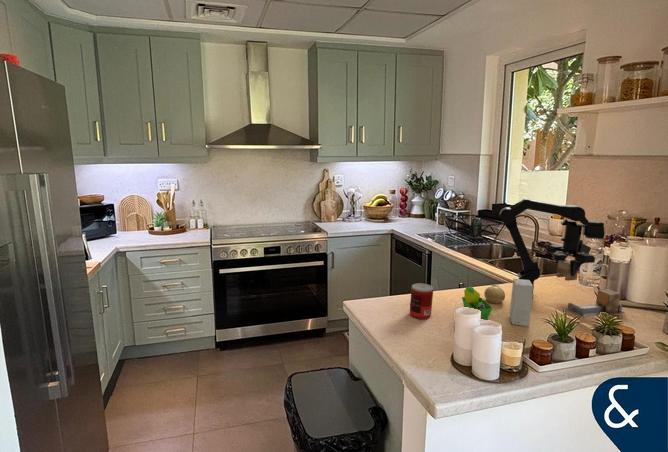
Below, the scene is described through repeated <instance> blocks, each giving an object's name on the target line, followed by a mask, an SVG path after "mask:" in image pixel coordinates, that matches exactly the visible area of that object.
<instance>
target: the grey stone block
mask: <svg viewBox="0 0 668 452" xmlns="http://www.w3.org/2000/svg"><path fill="white" fill-rule="evenodd" d="M556 269H557V270H556V275H555V276H556V278H564V280H565V281H566V282H567V281H577V280H578V273H579V270H578V271H577V272H576V274H575V275H574V276H571V263H570V259H565V260H559V261H558V265H557V268H556Z"/></svg>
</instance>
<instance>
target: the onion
mask: <svg viewBox="0 0 668 452" xmlns="http://www.w3.org/2000/svg"><path fill="white" fill-rule="evenodd" d="M483 294H484V298H485V299H486V302H489V303H491V304H501V303H502V302H504V301H505V298H506V293H505V291H504V289H503V288H501V287H500V286H499V285H498V284H495V283H491V286H488V287H487V288H486V289H485V290H484V293H483Z"/></svg>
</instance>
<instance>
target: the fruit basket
mask: <svg viewBox="0 0 668 452" xmlns="http://www.w3.org/2000/svg"><path fill="white" fill-rule="evenodd" d="M463 292H464V296H462V297H461V300H462V303H463V304H462V305H463V308H464V307H469V308H474V309H478V310H480V311H481V319H486V320H485V321H488V319H489V317H490V315H491V312H492V311H493V309H494V308H493V306H491V305H490V304H489V303H488V301H485V300H484V298H482V297H481V294H480V293H479V292H478V291H477V290H476V289H475V288H474V287H473V286H466V287H465V289H464V291H463Z"/></svg>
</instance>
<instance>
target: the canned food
mask: <svg viewBox="0 0 668 452" xmlns="http://www.w3.org/2000/svg"><path fill="white" fill-rule="evenodd" d="M410 289H411V290H410V291H411V292H410V303H409V314H410V316H411V317H412V318H414V319H417V320H428V319H430V317H431V316H432V307H433V299H434V298H433V296H434V286H432V285H430V284H427V283H421V282H420V283H414V284H413V283H412V285H411V287H410Z"/></svg>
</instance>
